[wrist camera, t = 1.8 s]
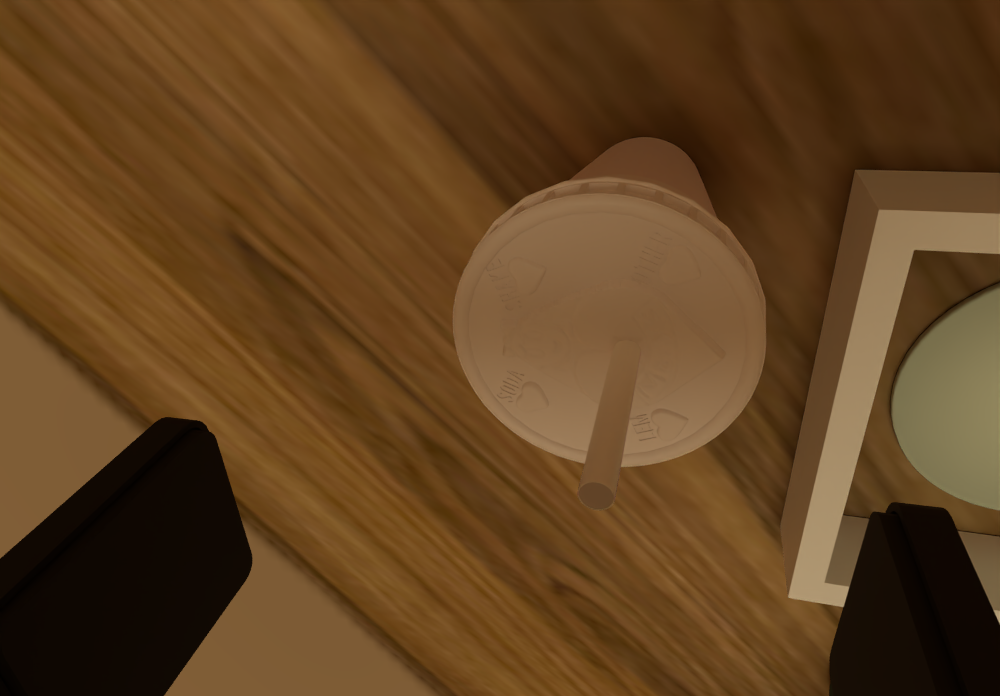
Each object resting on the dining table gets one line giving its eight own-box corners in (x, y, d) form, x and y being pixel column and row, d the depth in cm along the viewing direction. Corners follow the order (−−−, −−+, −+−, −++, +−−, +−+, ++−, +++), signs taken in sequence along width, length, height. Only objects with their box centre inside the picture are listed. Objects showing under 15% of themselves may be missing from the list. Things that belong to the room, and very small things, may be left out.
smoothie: (737, 293, 23) (760, 669, 11) (545, 282, 24) (390, 600, 13) (761, 87, 19) (830, 312, 8) (539, 91, 21) (323, 283, 9)
